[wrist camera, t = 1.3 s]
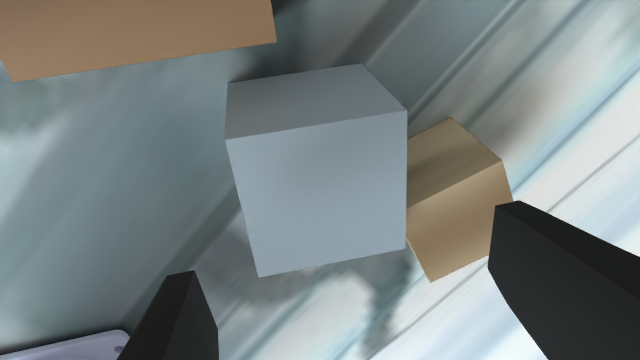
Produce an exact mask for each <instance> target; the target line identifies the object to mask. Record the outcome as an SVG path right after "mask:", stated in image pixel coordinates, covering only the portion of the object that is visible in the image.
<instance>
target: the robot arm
mask: <svg viewBox="0 0 640 360" xmlns="http://www.w3.org/2000/svg"><path fill="white" fill-rule="evenodd" d="M488 270H489V272H490V273H491V275H492V277H493V279H494V281H495V283H496V285H497V287H498V288H499V290H500V292H501V294H502V295H503V297H504V299H505V300H506V302H507V304H508V305H509V307H510V308H511V310H512V311H513V312H514V314H515V315H516V317H517V318H518V319H519V321H520V322H521V323H522V325H523V326H524V328H525V329H526V330H527V332H528V333H529V334H530V336H531V337H532V338H533V340H534V341H535V342H536V344H537V345H538V346H539V348H540V349H541V351H542V352H543V353H544V355H545V356H546V357H547V359H548V360H640V257H638V256H636V255H634V254H632V253H630V252H627V251H625V250H623V249H621V248H619V247H616V246H614V245H612V244H610V243H608V242H606V241H604V240H602V239H599V238H597V237H595V236H593V235H591V234H589V233H587V232H585V231H583V230H581V229H579V228H577V227H575V226H573V225H571V224H569V223H566V222H564V221H562V220H560V219H558V218H556V217H554V216H552V215H550V214H548V213H546V212H544V211H542V210H540V209H537V208H535V207H533V206H531V205H529V204H526V203H524V202H522V201H514V202H509V203H505V204H500V205H495V211H494V219H493V227H492V235H491V244H490V252H489V260H488ZM0 360H219V349H218V329H217V326H216V324H215V321H214V319H213V316H212V314H211V311H210V309H209V306H208V304H207V301H206V298H205V296H204V293H203V291H202V288H201V286H200V283H199V281H198V278H197V276H196V273H195V271H194V270H192V271H188V272H183V273H178V274H174V275H169V276H167V277H166V278H165V280H164V281H163V283H162V285H161V286H160V288H159V290H158V291H157V293H156V295H155V296H154V298H153V300H152V302H151V303H150V305H149V307H148V308H147V310H146V312H145V314H144V315H143V317H142V319H141V320H140V322H139V324H138V325H137V327H136V329H135V330H134V332H133V334H132V335H131V337H129V336H128V334H127V333H126V332H124V331H122V330H112V331H107V332H103V333H98V334H94V335H89V336H85V337H81V338H76V339H72V340H67V341H63V342H58V343H54V344H49V345H45V346H41V347H36V348H32V349H27V350H23V351H18V352H14V353H9V354H5V355H1V356H0Z"/></svg>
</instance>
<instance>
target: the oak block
mask: <svg viewBox="0 0 640 360" xmlns="http://www.w3.org/2000/svg"><path fill="white" fill-rule="evenodd" d="M509 202H513V198H512V195H511V191H510V187H509V184H508V180H507V176H506V173H505V169H504V165H503V162H502V160H501V159H500V158H499V157H497V156H496V155H495V154H494V153H493V152H492V151H490V150H489V149H488V148H487V147H486V146H484V145H483V144H482V143H481V142H480V141H479V140H477V139H476V138H475V137H474V136H473V135H472V134H470V133H469V132H468V131H467V130H466V129H464V128H463V127H462V126H461V125H460V124H459V123H457V122H456V121H455V120H454V119H453V118H451V117H450V118H448V119H446V120H444V121H442V122H440V123H438V124H436V125H434V126H433V127H431V128H429V129H427V130H425V131H423V132H421V133H419V134H417V135H415V136H413V137H412V138H410V139H408V140H407V184H406V240H407V242H408V244H409V246H410V247H411V249H412V251H413V253H414V254H415V256H416V258H417V260H418V262H419V263H420V265H421V267H422V269H423V271H424V272H425V274H426V276H427V278H428V279H429V281H430V283H431V282H433V281H435V280H437V279H439V278H442V277H444V276H446V275H448V274H450V273H452V272H454V271H456V270H458V269H460V268H462V267H464V266H466V265H468V264H470V263H472V262H475V261H477V260H479V259H481V258H483V257H485V256H487V255H489V252H490V244H491V235H492V227H493V219H494V211H495V205H500V204H505V203H509Z"/></svg>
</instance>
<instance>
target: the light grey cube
mask: <svg viewBox="0 0 640 360" xmlns="http://www.w3.org/2000/svg"><path fill="white" fill-rule="evenodd" d="M407 111H408V110H407V109H406V108H405V107H404V106H403V105H402V104H401V103H400V102H399V101H398V100H397V99H396V98H395V97H394V96H393V95H392V94H391V93H390V92H389V91H388V90H387V89H386V88H385V87H384V86H383V85H382V84H381V83H380V82H379V81H378V80H377V79H376V78H375V77H374V75H373V74H372V73H371V72H370V71H369V70H368V69H367V68H366V67H365V66H364V65H363V64H362V63H358V64H352V65H345V66H339V67H332V68H325V69H319V70H312V71H305V72H299V73H292V74H285V75H279V76H272V77H266V78H259V79H252V80H246V81H239V82H232V83H228V89H227V109H226V128H225V143H226V147H227V151H228V155H229V159H230V163H231V167H232V171H233V176H234V180H235V184H236V188H237V192H238V196H239V200H240V204H241V208H242V213H243V217H244V221H245V225H246V229H247V233H248V237H249V241H250V246H251V250H252V254H253V258H254V262H255V266H256V270H257V274H258V278H260V277H265V276H270V275H275V274H280V273H285V272H290V271H295V270H300V269H305V268H310V267H315V266H321V265H326V264H331V263H336V262H341V261H346V260H351V259H356V258H361V257H366V256H371V255H376V254H381V253H386V252H391V251H397V250H402V249H406V184H407Z"/></svg>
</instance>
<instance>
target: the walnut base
mask: <svg viewBox="0 0 640 360" xmlns="http://www.w3.org/2000/svg"><path fill="white" fill-rule="evenodd" d="M275 42H277V38H276V32H275V25H274V19H273V13H272V6H271V0H0V58H1V60H2V62H3V64H4V66H5V68H6V70H7V72H8V74H9V76H10V78H11V80H12V82H17V81H24V80H30V79H37V78H43V77H50V76H57V75H63V74H70V73H77V72H83V71H90V70H96V69H103V68H110V67H116V66H123V65H130V64H136V63H143V62H149V61H156V60H163V59H169V58H176V57H182V56H189V55H196V54H202V53H209V52H216V51H222V50H229V49H235V48H242V47H249V46H255V45H262V44H269V43H275Z"/></svg>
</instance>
